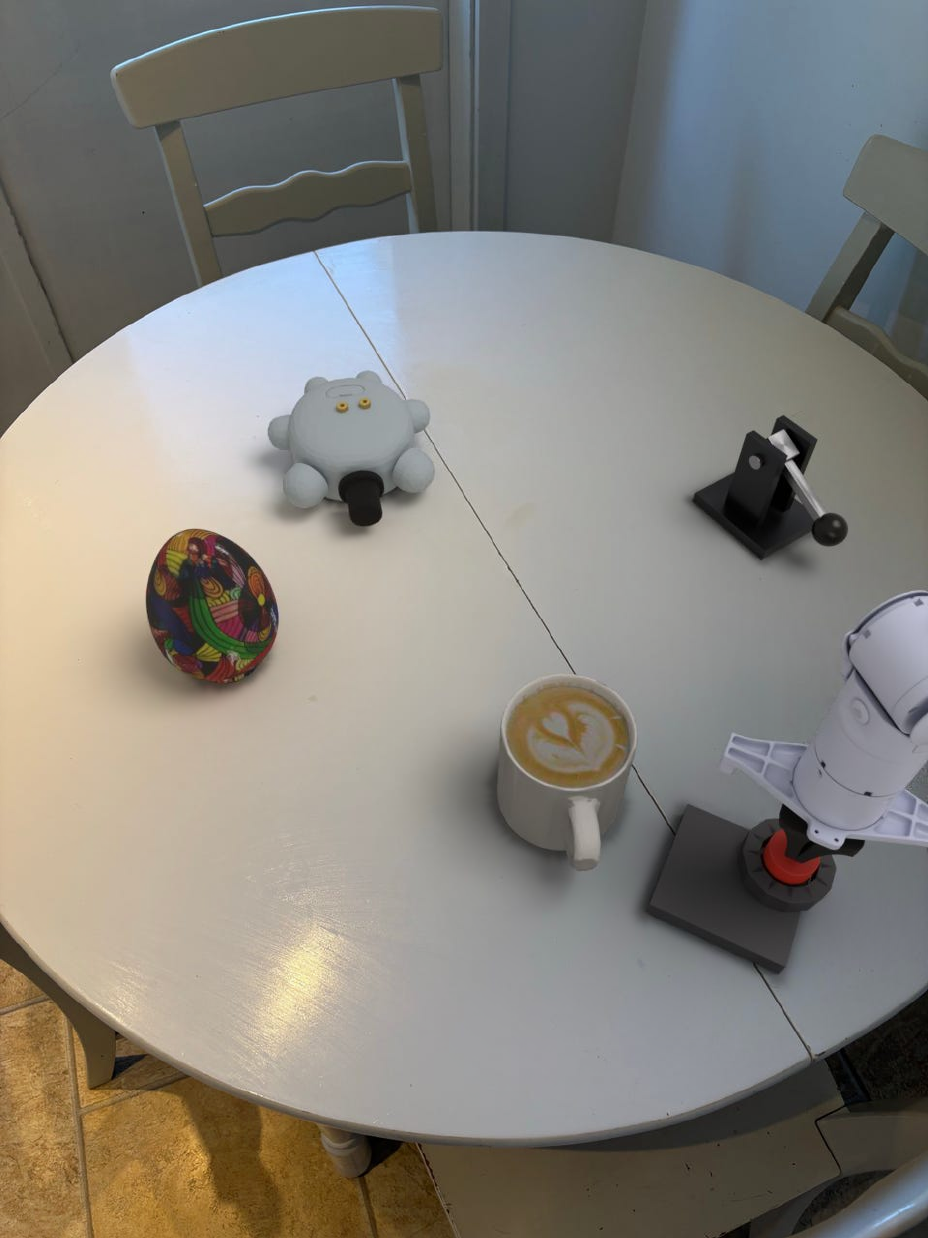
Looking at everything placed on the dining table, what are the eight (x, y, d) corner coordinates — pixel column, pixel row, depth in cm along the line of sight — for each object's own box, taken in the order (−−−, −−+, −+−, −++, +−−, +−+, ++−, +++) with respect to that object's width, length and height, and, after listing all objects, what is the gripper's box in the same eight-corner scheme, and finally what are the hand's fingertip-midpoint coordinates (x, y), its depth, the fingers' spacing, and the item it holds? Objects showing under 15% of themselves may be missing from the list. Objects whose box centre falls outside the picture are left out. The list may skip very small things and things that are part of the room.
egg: (220, 724, 76) (175, 616, 64) (144, 659, 81) (89, 546, 69) (311, 648, 81) (285, 535, 69) (235, 590, 86) (198, 474, 74)
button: (818, 851, 66) (825, 841, 64) (806, 893, 64) (814, 884, 62) (770, 830, 67) (776, 820, 65) (757, 871, 65) (763, 862, 63)
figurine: (269, 418, 101) (285, 558, 90) (255, 359, 94) (271, 505, 83) (420, 398, 103) (452, 533, 92) (418, 340, 96) (453, 479, 85)
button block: (828, 859, 69) (843, 840, 66) (796, 983, 63) (811, 967, 60) (688, 800, 72) (697, 779, 69) (645, 912, 66) (653, 894, 63)
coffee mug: (499, 736, 75) (503, 669, 68) (617, 743, 75) (634, 676, 67) (492, 890, 67) (495, 833, 59) (624, 898, 67) (645, 842, 59)
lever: (840, 543, 86) (861, 530, 83) (817, 556, 85) (838, 544, 82) (771, 440, 87) (790, 424, 84) (747, 452, 86) (766, 437, 83)
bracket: (818, 527, 90) (852, 449, 82) (762, 560, 88) (791, 483, 80) (747, 471, 96) (773, 393, 88) (692, 501, 93) (713, 423, 85)
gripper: (725, 758, 53) (681, 852, 63) (984, 863, 48) (890, 945, 59) (757, 670, 56) (711, 773, 67) (999, 761, 52) (909, 855, 63)
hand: (796, 848), depth 63 cm, fingers closed
